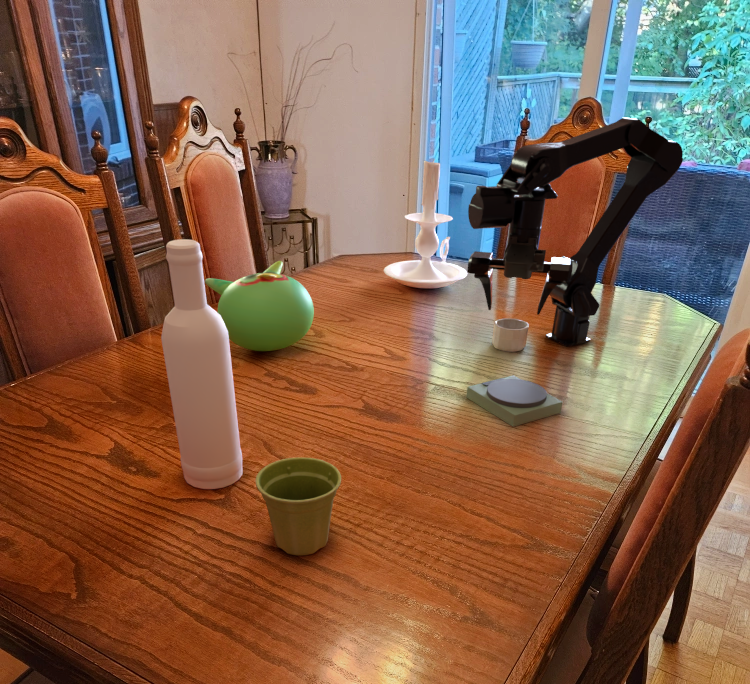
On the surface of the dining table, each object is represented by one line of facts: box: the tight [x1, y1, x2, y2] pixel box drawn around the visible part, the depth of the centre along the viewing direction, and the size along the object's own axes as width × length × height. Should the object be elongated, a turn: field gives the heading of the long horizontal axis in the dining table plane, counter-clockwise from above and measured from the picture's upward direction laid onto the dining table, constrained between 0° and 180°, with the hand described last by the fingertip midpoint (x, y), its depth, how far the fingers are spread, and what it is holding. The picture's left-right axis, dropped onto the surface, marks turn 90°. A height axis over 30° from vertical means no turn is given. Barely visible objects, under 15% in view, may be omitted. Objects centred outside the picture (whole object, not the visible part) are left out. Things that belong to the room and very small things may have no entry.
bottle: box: [160, 238, 244, 490], centre depth 81 cm, size 8×8×30 cm
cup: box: [491, 317, 530, 353], centre depth 130 cm, size 7×7×4 cm
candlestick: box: [383, 158, 468, 289], centre depth 160 cm, size 21×25×28 cm
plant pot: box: [255, 456, 342, 556], centre depth 76 cm, size 9×9×9 cm
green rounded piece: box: [204, 260, 315, 352], centre depth 125 cm, size 18×17×15 cm
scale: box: [465, 374, 563, 428], centre depth 109 cm, size 12×10×3 cm
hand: (513, 311), depth 128 cm, fingers open, 9 cm apart
